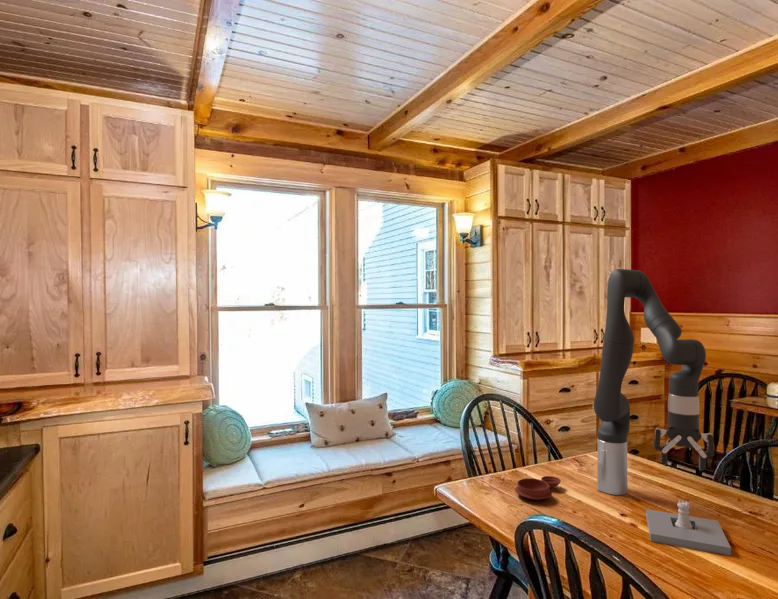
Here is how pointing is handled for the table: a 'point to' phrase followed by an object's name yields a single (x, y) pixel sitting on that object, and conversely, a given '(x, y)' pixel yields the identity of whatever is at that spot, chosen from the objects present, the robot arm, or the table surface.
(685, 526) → the rook chess piece
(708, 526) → the socket dock
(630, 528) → the table surface
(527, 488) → the pottery
